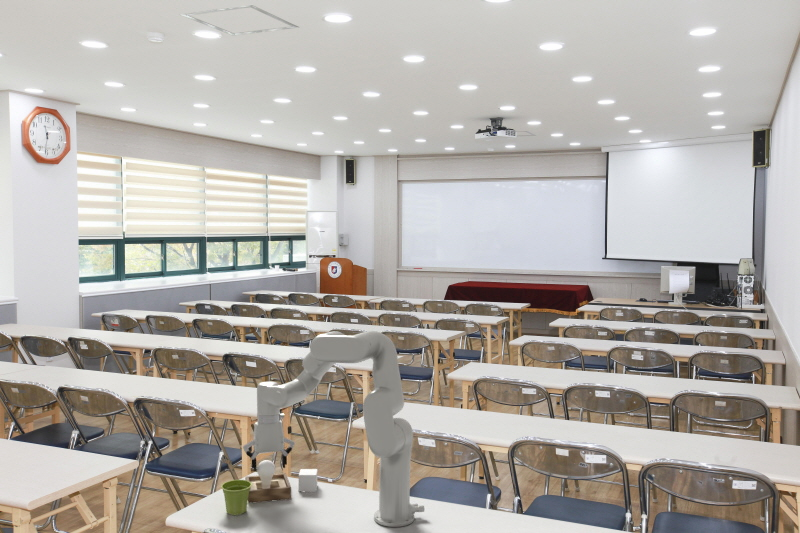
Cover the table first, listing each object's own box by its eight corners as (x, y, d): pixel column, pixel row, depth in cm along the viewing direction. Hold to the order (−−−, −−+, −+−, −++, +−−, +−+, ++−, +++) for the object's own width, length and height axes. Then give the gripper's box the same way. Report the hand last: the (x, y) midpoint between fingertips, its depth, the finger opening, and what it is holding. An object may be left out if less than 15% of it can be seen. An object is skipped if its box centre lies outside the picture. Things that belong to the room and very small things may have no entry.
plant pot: (252, 515, 213) (253, 488, 212) (222, 519, 210) (222, 491, 210) (250, 504, 222) (250, 478, 221) (220, 507, 219) (220, 481, 219)
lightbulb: (273, 495, 228) (273, 463, 227) (255, 495, 228) (255, 463, 227) (276, 488, 234) (276, 457, 233) (259, 488, 234) (259, 457, 234)
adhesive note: (315, 492, 234) (316, 475, 233) (298, 492, 233) (298, 475, 233) (317, 485, 240) (317, 468, 239) (300, 485, 239) (300, 468, 239)
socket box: (285, 484, 240) (285, 473, 240) (291, 499, 227) (291, 487, 227) (245, 487, 236) (245, 476, 236) (248, 503, 223) (248, 491, 222)
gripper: (292, 413, 236) (293, 462, 237) (241, 417, 231) (242, 467, 232) (295, 419, 229) (296, 469, 230) (243, 423, 224) (244, 474, 225)
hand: (269, 468), depth 231 cm, fingers open, 9 cm apart
